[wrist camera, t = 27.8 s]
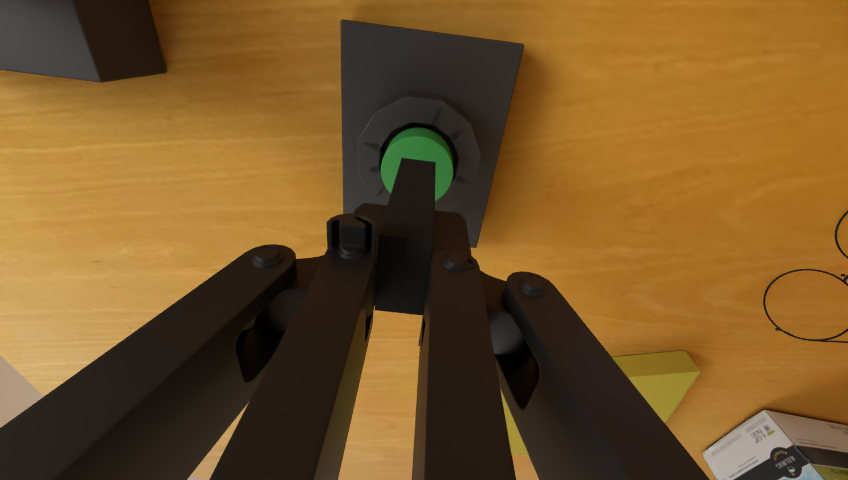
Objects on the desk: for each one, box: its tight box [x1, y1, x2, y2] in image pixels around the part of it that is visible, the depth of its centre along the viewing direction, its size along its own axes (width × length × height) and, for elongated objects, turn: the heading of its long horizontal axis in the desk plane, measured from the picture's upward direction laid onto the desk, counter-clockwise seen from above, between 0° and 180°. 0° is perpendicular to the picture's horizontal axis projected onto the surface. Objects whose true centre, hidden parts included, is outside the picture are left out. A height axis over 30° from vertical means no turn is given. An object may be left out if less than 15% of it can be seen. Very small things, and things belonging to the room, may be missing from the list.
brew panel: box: [341, 20, 524, 248], centre depth 19 cm, size 12×9×4 cm
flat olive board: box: [500, 350, 701, 456], centre depth 34 cm, size 12×2×24 cm
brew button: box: [381, 128, 453, 201], centre depth 17 cm, size 4×4×2 cm
